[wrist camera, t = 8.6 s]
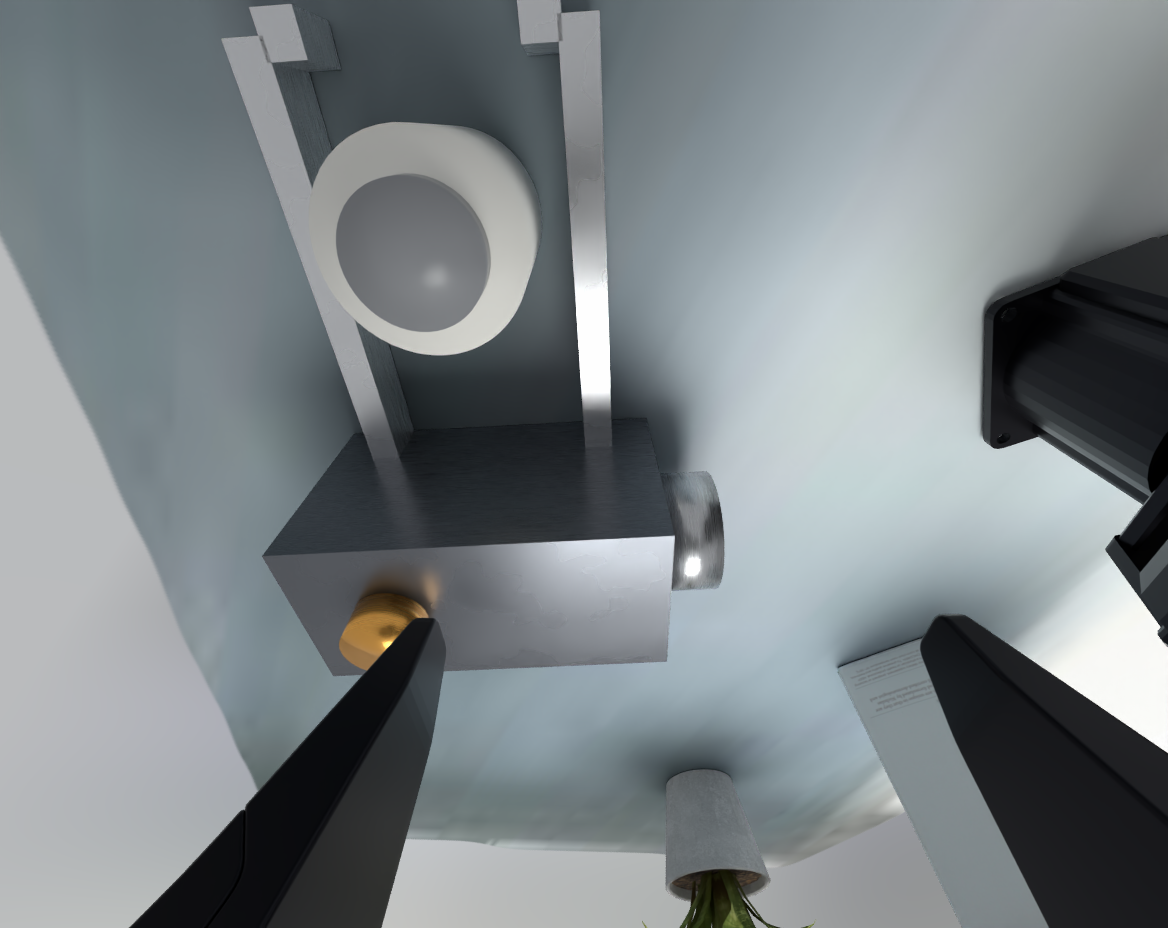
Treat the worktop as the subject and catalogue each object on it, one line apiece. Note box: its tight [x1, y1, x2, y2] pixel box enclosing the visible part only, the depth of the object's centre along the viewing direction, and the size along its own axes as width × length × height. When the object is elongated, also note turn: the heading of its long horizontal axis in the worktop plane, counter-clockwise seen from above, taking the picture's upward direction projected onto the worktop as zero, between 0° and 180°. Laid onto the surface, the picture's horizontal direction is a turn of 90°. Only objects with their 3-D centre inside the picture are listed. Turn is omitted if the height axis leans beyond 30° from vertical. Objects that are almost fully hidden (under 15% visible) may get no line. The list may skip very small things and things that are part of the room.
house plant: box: [643, 769, 814, 928], centre depth 31 cm, size 14×14×16 cm
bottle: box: [309, 122, 542, 355], centre depth 13 cm, size 5×5×6 cm
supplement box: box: [838, 638, 1049, 928], centre depth 25 cm, size 7×7×13 cm
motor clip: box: [221, 0, 724, 676], centre depth 15 cm, size 14×18×8 cm
